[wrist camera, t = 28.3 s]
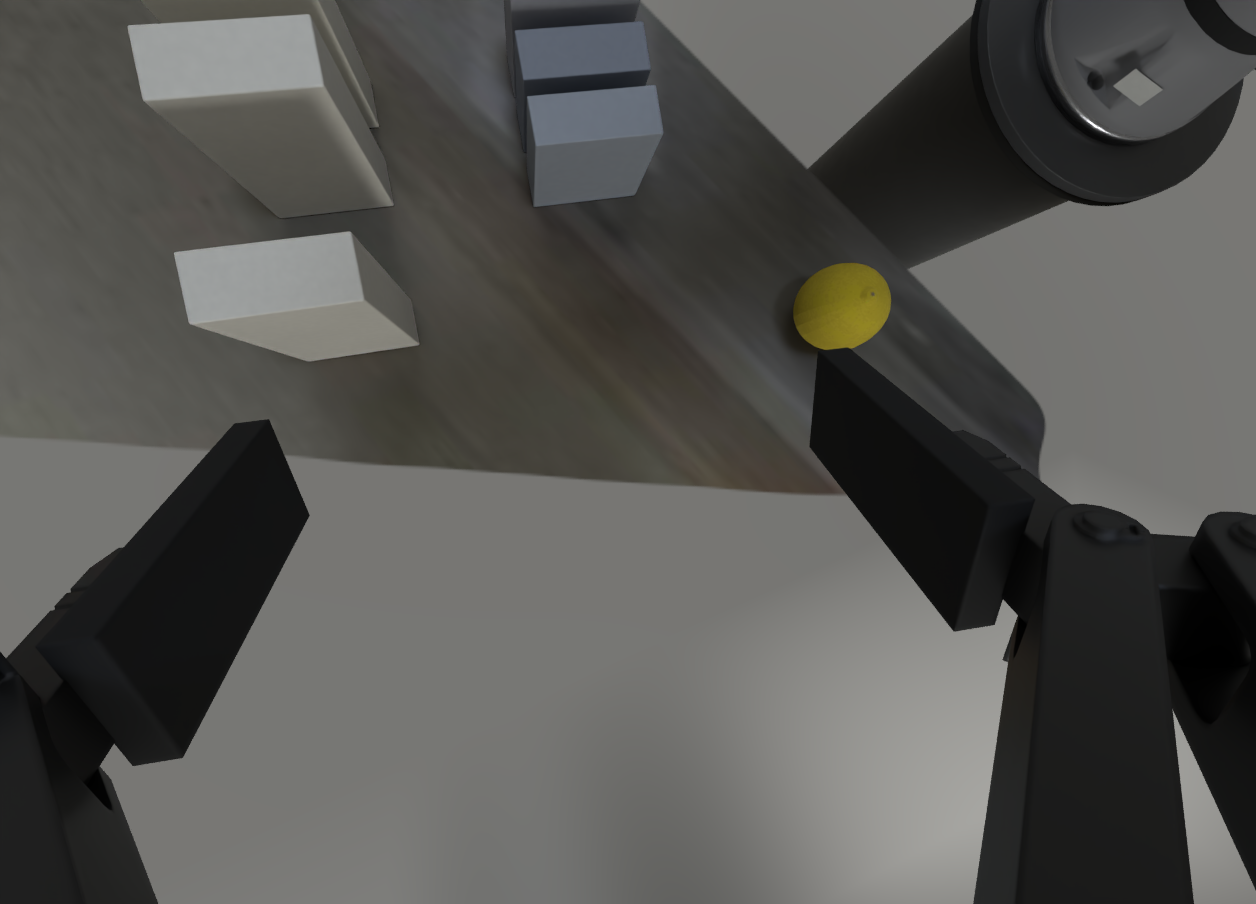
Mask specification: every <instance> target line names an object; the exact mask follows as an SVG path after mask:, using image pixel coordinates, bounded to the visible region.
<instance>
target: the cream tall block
mask: <svg viewBox="0 0 1256 904" xmlns="http://www.w3.org/2000/svg"><path fill="white" fill-rule="evenodd" d="M174 256H175V261H176V266H177V270H178V275H179V279H180V284H181V289H182V293H183V298H184V302H185V307H186V312H187V316H188V321H189V324H190V325H194V326H197V327H200V328H203V329H206V330H209V331H213V332H216V333H219V334H222V335H225V336H228V337H232V338H235V339H238V340H241V341H244V342H247V343H251V344H254V345H257V346H260V347H263V348H266V349H270V350H273V351H276V352H279V353H282V354H285V355H289V356H292V357H295V358H298V359H301V360H304V361H308V362H310V361H316V360H323V359H330V358H337V357H343V356H350V355H357V354H364V353H370V352H377V351H384V350H390V349H397V348H404V347H411V346H417V345H420V343H419V337H418V332H417V327H416V322H415V317H414V312H413V306H412V301H411V299H410V298H409V297H408V296H407V295H406V294H405V293H404V291H403V290H402V289H401V288H400V287H399V286H398V285H397V283H396V282H395V281H394V280H393V279H392V278H391V277H390V276H389V274H388V273H387V272H386V271H385V270H384V269H383V268H382V267H381V265H380V264H379V263H378V262H377V261H376V260H375V259H374V257H373V256H372V255H371V254H370V253H369V252H368V251H367V250H366V248H365V247H364V246H363V245H362V244H361V243H360V242H359V240H358V239H357V238H356V237H355V236H354V235H353V234H352V233H351V232H350V231H348V232H340V233H332V234H323V235H315V236H306V237H298V238H289V239H281V240H273V241H264V242H256V243H247V244H239V245H231V246H222V247H214V248H205V249H197V250H188V251H180V252H175V253H174Z"/></svg>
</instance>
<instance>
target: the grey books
mask: <svg viewBox="0 0 1256 904" xmlns="http://www.w3.org/2000/svg"><path fill="white" fill-rule="evenodd" d="M639 3H640V0H504V10H505V29H506V49H507V61H508V67H509V72H510V78H511V84H512V89H513V95H514V97H516V101H517V117H518V123H519V129H520V134H521V140H522V146H523V151H524V152H527V174H528V179H529V185H530V191H531V196H532V202H533V206H534V207H540V206H548V205H557V204H566V203H574V202H583V201H592V200H600V199H609V198H618V197H626V196H634V195H635V194H636V192H637V189H638V187H639V185H640V183H641V181H642V179H643V176H644V174H645V172H646V170H647V168H648V165H649V163H650V161H651V159H652V157H653V155H654V152H655V150H656V148H657V146H658V144H659V142H660V139H661V137H662V135H663V127H662V120H661V114H660V108H659V102H658V96H657V90H656V86H655V85H650V86H645V85H646V82H647V79H648V76H649V74H650V71H651V66H650V60H649V54H648V47H647V41H646V35H645V29H644V23H643V21H639V22H635V18H636V15H637V11H638V7H639Z"/></svg>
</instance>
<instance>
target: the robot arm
mask: <svg viewBox="0 0 1256 904" xmlns="http://www.w3.org/2000/svg"><path fill="white" fill-rule="evenodd" d="M1034 41H1035V52H1036V59H1037V64H1038V68H1039V72H1040V75H1041V78H1042V81H1043V83H1044V85H1045V88H1046V90H1047V92H1048V94H1049V96H1050V97H1051V99H1052V101H1053V102H1054V104H1055V105H1056V107H1057V108H1058V110H1059V111H1060V112H1061V113H1062V115H1063V116H1064V117H1065V118H1066V119H1067V120H1068V121H1069V122H1070V123H1071V124H1072V125H1073V126H1075V127H1076V128H1077V129H1078V130H1080V131H1081V132H1083V133H1084V134H1086V135H1088V136H1089V137H1091V138H1093V139H1095V140H1098V141H1100V142H1103V143H1106V144H1111V145H1116V146H1136V145H1142V144H1145V143H1149V142H1151V141H1154V140H1156V139H1158V138H1160V137H1163V136H1165V135H1167V134H1169V133H1171V132H1173V131H1176V130H1177V129H1179V128H1181V127H1183V126H1184V125H1185V124H1187V123H1189V122H1190V121H1192V120H1193V119H1195V118H1196V117H1197V116H1199V115H1200V114H1201V113H1202V112H1204V111H1205V110H1206V109H1207V108H1208V107H1209V106H1210V105H1211V104H1212V103H1213V102H1214V101H1215V100H1217V99H1218V98H1219V97H1220V96H1222V95H1223V94H1224V93H1225V92H1227V91H1228V90H1229V89H1230V88H1232V87H1233V86H1234V85H1235V84H1237V83H1238V82H1239V81H1240V80H1241V79H1243V78H1244V77H1245V76H1246V75H1247V74H1249V73H1250V72H1251V71H1252V70H1253V69H1255V70H1256V0H1040V2H1039V6H1038V9H1037V14H1036V20H1035V35H1034ZM810 448H811V449H812V451H813V452H814V453H815V455H816V456H817V457H818V458H819V460H820V461H821V462H822V463H823V465H824V466H825V467H826V469H827V470H828V471H829V472H830V474H831V475H832V476H833V478H834V479H835V480H836V481H837V483H838V484H839V485H840V487H841V488H842V489H843V490H844V492H845V493H846V494H847V495H848V497H849V498H850V499H851V501H852V502H853V503H854V504H855V506H856V507H857V508H858V510H859V511H860V512H861V513H862V515H863V516H864V517H865V518H866V520H867V521H868V522H869V523H870V525H871V526H872V527H873V529H874V530H875V531H876V533H878V535H879V536H880V538H881V539H882V540H883V542H884V543H885V544H886V545H887V547H888V548H889V549H890V550H891V552H892V553H893V554H894V556H895V557H896V558H897V559H898V561H899V562H900V563H901V565H902V566H903V567H904V568H905V570H906V571H907V572H908V573H909V575H910V576H911V577H912V579H913V580H914V581H915V582H916V584H917V585H918V586H919V588H920V589H921V590H922V591H923V593H924V594H925V595H926V597H927V598H928V599H929V600H930V602H931V603H932V604H933V605H934V606H935V608H936V609H937V611H938V612H939V613H940V614H941V616H942V617H943V618H944V619H945V621H946V622H947V623H948V625H949V626H950V627H951V628H952V630H953V631H960V630H966V629H972V628H979V627H985V626H991V625H995V622H996V618H997V616H998V612H999V609H1000V606H1001V603H1002V600H1004V601H1006V603H1007V604H1008V605H1009V606H1010V607H1011V608H1012V609H1013V610H1014V611H1015V612H1016V614H1017V615H1018V617H1017V620H1016V623H1015V625H1014V628H1013V632H1012V634H1011V637H1010V640H1009V643H1008V646H1007V649H1006V651H1005V654H1004V657H1003V660H1004V661H1007V662H1008V668H1007V675H1006V682H1005V688H1004V695H1003V703H1002V709H1001V716H1000V723H999V730H998V737H997V744H996V751H995V758H994V764H993V772H992V778H991V785H990V792H989V799H988V806H987V813H986V820H985V826H984V833H983V840H982V848H981V854H980V861H979V868H978V876H977V882H976V889H975V896H974V903H973V904H1194V900H1193V892H1192V882H1191V874H1190V864H1189V855H1188V846H1187V837H1186V828H1185V819H1184V810H1183V802H1182V793H1181V784H1180V774H1179V765H1178V757H1177V747H1176V738H1175V729H1174V720H1173V711H1174V713H1175V715H1176V717H1177V720H1178V722H1179V724H1180V726H1181V728H1182V730H1183V733H1184V735H1185V737H1186V739H1187V741H1188V743H1189V746H1190V748H1191V750H1192V752H1193V754H1194V756H1195V759H1196V761H1197V763H1198V765H1199V767H1200V770H1201V772H1202V774H1203V776H1204V778H1205V781H1206V783H1207V785H1208V787H1209V789H1210V791H1211V794H1212V796H1213V798H1214V800H1215V802H1216V804H1217V807H1218V809H1219V811H1220V813H1221V815H1222V817H1223V820H1224V822H1225V824H1226V826H1227V829H1228V831H1229V833H1230V835H1231V837H1232V839H1233V842H1234V844H1235V846H1236V848H1237V850H1238V852H1239V855H1240V857H1241V859H1242V861H1243V863H1244V866H1245V868H1246V870H1247V872H1248V874H1249V876H1250V879H1251V881H1252V883H1253V885H1254V887H1255V890H1256V515H1252V514H1247V513H1241V512H1218V513H1215V514H1211V515H1208V516H1207V517H1206V518H1205V520H1204V521H1203V522H1202V524H1201V526H1200V528H1199V530H1198V532H1197V534H1196V536H1195V537H1190V536H1175V535H1158V534H1150V532H1149V530H1148V529H1146V528H1145V527H1144V526H1143V525H1141V524H1140V523H1139V522H1138V521H1137V520H1135V519H1133V518H1131V517H1129V516H1127V515H1125V514H1123V513H1121V512H1118V511H1115V510H1112V509H1109V508H1105V507H1102V506H1096V505H1087V504H1074V505H1071V504H1070V503H1068V502H1067V501H1066V500H1065V499H1063V498H1062V497H1060V496H1059V495H1058V494H1057V493H1055V492H1054V491H1053V490H1052V489H1050V488H1049V487H1048V486H1046V485H1045V484H1044V483H1042V482H1041V481H1040V480H1039V479H1037V478H1036V477H1035V476H1033V475H1032V474H1031V473H1029V472H1028V471H1027V470H1025V469H1021V466H1020V465H1019V464H1018V463H1016V462H1015V461H1014V460H1012V459H1011V458H1007V457H1006V454H1005V453H1003V452H1002V451H1001V450H999V449H998V448H997V447H995V446H994V445H993V444H992V443H990V442H989V441H987V440H985V439H982V438H980V437H978V436H975V435H973V434H971V433H968V432H966V431H964V430H962V431H955V432H952V431H951V430H950V429H948V428H947V427H946V426H945V425H943V424H942V423H941V422H940V421H938V420H937V419H936V418H935V417H933V416H932V415H931V414H930V413H929V412H927V411H926V410H925V409H924V408H922V407H921V406H920V405H919V404H917V403H916V402H915V401H914V400H912V399H911V398H910V397H909V396H908V395H906V394H905V393H904V392H903V391H901V390H900V389H899V388H898V387H896V386H895V385H894V384H893V383H891V382H890V381H889V380H888V379H886V378H885V377H884V376H883V375H882V374H880V373H879V372H878V371H877V370H875V369H874V368H873V367H872V366H870V365H869V364H868V363H867V362H865V361H864V360H863V359H862V358H861V357H859V356H858V355H857V354H856V353H854V352H853V351H852V350H851V349H849V348H848V347H846V348H838V349H830V350H822V351H818V358H817V369H816V380H815V392H814V403H813V414H812V425H811V436H810ZM308 517H309V513H308V510H307V508H306V506H305V503H304V501H303V498H302V496H301V494H300V492H299V489H298V487H297V484H296V482H295V480H294V477H293V475H292V473H291V470H290V468H289V465H288V463H287V461H286V458H285V456H284V454H283V451H282V449H281V447H280V444H279V442H278V440H277V437H276V435H275V432H274V430H273V428H272V425H271V423H270V421H269V419H267V420H259V421H251V422H243V423H235V424H234V425H233V426H232V427H231V428H230V429H229V430H228V431H227V432H226V434H225V435H224V436H223V437H222V438H221V439H220V440H219V441H218V443H217V444H216V445H215V446H214V447H213V448H212V449H211V450H210V452H209V453H208V454H207V455H206V456H205V457H204V458H203V459H202V460H201V462H200V463H199V464H198V465H197V466H196V467H195V468H194V470H193V471H192V472H191V473H190V474H189V475H188V476H187V477H186V478H185V480H184V481H183V482H182V483H181V484H180V485H179V486H178V487H177V489H176V490H175V491H174V492H173V493H172V494H171V495H170V496H169V497H168V499H167V500H166V501H165V502H164V503H163V504H162V505H161V506H160V508H159V509H158V510H157V511H156V512H155V513H154V514H153V515H152V516H151V518H150V519H149V520H148V521H147V522H146V523H145V524H144V526H143V527H142V528H141V529H140V530H139V531H138V532H137V533H136V534H135V536H134V537H133V538H132V539H131V540H130V541H129V542H128V543H127V544H126V546H125V547H123V548H118V549H117V550H115V551H114V552H112V553H111V554H110V555H108V556H106V557H105V558H104V559H103V560H101V561H99V562H98V563H96V564H95V565H94V566H92V567H91V568H89V570H88V571H87V572H86V573H85V574H84V575H83V576H82V577H81V578H80V579H79V581H77V583H76V584H75V585H74V586H73V587H72V588H71V593H66V594H65V595H64V597H63V598H62V599H61V600H60V601H59V602H58V603H57V604H56V605H55V610H53V611H50V612H49V613H48V614H47V615H46V616H45V617H44V618H43V619H42V620H41V621H40V623H39V624H38V625H37V626H36V627H35V628H34V629H33V630H32V631H31V632H30V633H29V634H28V635H27V637H26V638H25V639H24V640H23V641H22V642H21V643H20V644H19V645H18V646H17V647H16V649H15V650H14V651H13V652H12V653H11V654H10V655H9V656H8V657H7V658H5V657H4V656H3V655H2V653H1V652H0V904H158V902H157V899H156V897H155V894H154V892H153V889H152V886H151V883H150V881H149V878H148V876H147V873H146V870H145V868H144V865H143V862H142V860H141V857H140V854H139V852H138V849H137V847H136V844H135V841H134V839H133V836H132V833H131V831H130V828H129V825H128V823H127V820H126V818H125V815H124V812H123V810H122V807H121V805H120V802H119V800H118V797H117V794H116V791H115V789H114V786H113V783H112V781H111V779H110V778H109V776H108V775H107V774H106V773H105V772H104V771H103V770H102V768H101V767H100V765H101V763H102V761H103V760H104V758H105V757H106V755H107V754H108V752H109V750H110V749H111V747H112V746H113V744H115V745H116V746H117V747H118V749H119V750H120V751H121V752H122V753H123V755H124V756H125V757H126V758H127V759H128V761H129V762H130V763H131V764H132V766H136V765H142V764H148V763H155V762H160V761H167V760H173V759H178V758H183V756H184V754H185V753H186V751H187V749H188V747H189V745H190V743H191V741H192V739H193V737H194V735H195V733H196V732H197V729H198V728H199V726H200V724H201V722H202V720H203V718H204V716H205V714H206V712H207V711H208V709H209V707H210V705H211V703H212V701H213V699H214V697H215V695H216V693H217V691H218V689H219V688H220V686H221V684H222V682H223V680H224V678H225V676H226V674H227V672H228V670H229V668H230V666H231V665H232V663H233V661H234V659H235V657H236V655H237V653H238V651H239V649H240V647H241V646H242V644H243V642H244V640H245V638H246V636H247V634H248V632H249V630H250V628H251V626H252V625H253V623H254V621H255V619H256V617H257V615H258V613H259V611H260V609H261V607H262V605H263V603H264V602H265V600H266V598H267V596H268V594H269V592H270V590H271V588H272V586H273V584H274V582H275V581H276V579H277V577H278V575H279V573H280V571H281V569H282V567H283V565H284V563H285V561H286V560H287V557H288V556H289V554H290V552H291V550H292V548H293V546H294V544H295V542H296V540H297V538H298V537H299V535H300V533H301V531H302V529H303V527H304V525H305V523H306V521H307V519H308ZM1172 709H1173V711H1172Z"/></svg>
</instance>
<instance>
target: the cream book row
mask: <svg viewBox="0 0 1256 904" xmlns="http://www.w3.org/2000/svg"><path fill="white" fill-rule="evenodd" d="M140 1H141V2H142V3H143V4H144V5H145V6H146V7H147V8H148V10H149V11H150V12H151V13H152V14H153V15H154V16H155V17H156V18H157V20H158V21H159V22H160V24H144V25H129V26H128V27H127V28H128V32H129V37H130V42H131V46H132V51H133V56H134V61H135V65H136V70H137V75H138V79H139V84H140V89H141V93H142V98H143V101H144V102H145V103H147V104H148V105H149V106H150V107H151V108H152V109H153V110H155V111H156V112H157V113H158V114H159V115H160V116H162V117H163V118H164V119H165V120H166V121H167V122H169V123H170V124H171V125H172V126H173V127H174V128H175V129H177V130H178V131H179V132H180V133H181V134H182V135H184V136H185V137H186V138H187V139H188V140H189V141H191V142H192V143H193V144H194V145H195V146H196V147H198V148H199V149H200V150H201V151H202V152H203V153H204V154H206V155H207V156H208V157H209V158H210V159H211V160H213V161H214V162H215V163H216V164H217V165H218V166H220V167H221V168H222V169H223V170H224V171H225V172H226V173H228V174H229V175H230V176H231V177H232V178H233V179H235V180H236V181H237V182H238V183H239V184H240V185H242V186H243V187H244V188H245V189H246V190H247V191H248V192H250V193H251V194H252V195H253V196H254V197H255V198H257V199H258V200H259V201H260V202H261V203H262V204H264V205H265V206H266V207H267V208H268V209H269V210H270V211H272V212H273V213H274V214H275V215H276V216H277V217H279V218H289V217H298V216H307V215H316V214H325V213H334V212H343V211H352V210H361V209H370V208H379V207H388V206H394V202H393V196H392V191H391V186H390V181H389V175H388V170H387V165H386V160H385V158H384V156H383V154H382V152H381V150H380V148H379V146H378V145H377V143H376V141H375V139H374V137H373V135H372V133H371V131H370V129H369V128H375V127H379V123H378V117H377V112H376V107H375V102H374V96H373V91H372V86H371V81H370V78H369V76H368V74H367V71H366V69H365V67H364V65H363V62H362V60H361V58H360V56H359V53H358V51H357V49H356V47H355V44H354V42H353V40H352V38H351V35H350V33H349V31H348V29H347V26H346V24H345V22H344V20H343V17H342V15H341V13H340V11H339V8H338V6H337V4H336V2H335V0H140Z"/></svg>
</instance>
